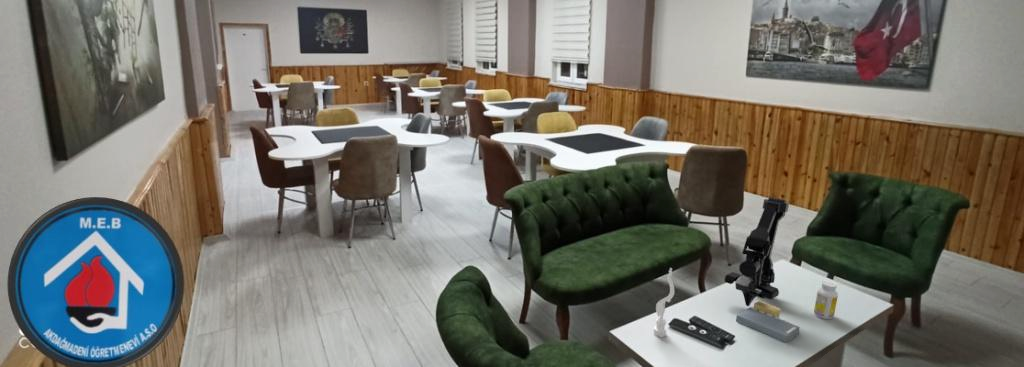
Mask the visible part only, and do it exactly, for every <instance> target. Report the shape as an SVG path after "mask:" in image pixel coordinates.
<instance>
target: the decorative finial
mask: <svg viewBox="0 0 1024 367" xmlns="http://www.w3.org/2000/svg"><path fill="white" fill-rule="evenodd" d="M672 275H673V268H672V267H670V268H669V270H668V275H667V276H666V277H667V278H666V279H667V282H668V286H669V293H668V295H667V296H666V297H664V298H661V299H660V300H658V301H657V303H656V304H655V311H656V315H657V318H655V323H656V325H655V326H654V327H653V335H655V336H657V337H659V338H660V337H661V338H663V337H666V336H667V328H666V327H665V326H666V324H667V320H666V318H664V314H665V313H666V312H665V310H666V302H667V303H670V302H672V298H673V297H674V295H675V286H674V283H673V280H672Z"/></svg>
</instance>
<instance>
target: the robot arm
mask: <svg viewBox="0 0 1024 367" xmlns="http://www.w3.org/2000/svg"><path fill="white" fill-rule="evenodd" d="M789 205H790V203H788V202H787V200H786V199H783V198H777V197H773V196H769V197H768V199H767V198H765V199H763V203H762V209H763V211H762V214H761V215H760V216H761V217H760V218H759V222H758V223H757V227H756V228H754V229H753V230H751V232H750V234H749V235H747V237H746V239H745V243H744V246H743V249H742V255H745V256H746V257H745V259H743V261H742V262H741V263H740V264H739V267H738V268H739V272H740V273H741V274H739V273H736V272H734V271H732V272H730V273H728V274H726V275H725V276H724V279H723V281H724V283H727V284H729V285H732V284H735V285H734V286H735V289H736V290H737V291H741V293H742V296H743V297H744V298H743V299H744V302H745V306H747V307H750V305H751V304H752V302H753V301H754V299H756V297H758V298H766V299H768V300H773V299H775V298H777V297H778V296H779V294H780V290H779V288H778V287H776V286H773V285H772V284H774V283H775V275H776V274H775V270H774V263H773V260H772V252H773V249H774V248H773V247H774V244H775V241H776V240H775V239H776V237H777V236H776V235H777V232H778V231H777V230H778V227H779V223H780V221H781V220H782V219H783V218H784V217H785V216H786V213H788V210H789V208H790V206H789Z"/></svg>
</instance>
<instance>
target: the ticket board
mask: <svg viewBox="0 0 1024 367" xmlns="http://www.w3.org/2000/svg"><path fill="white" fill-rule="evenodd" d="M735 321H736V322H737V323H739V324H742V325H744V326H747V327H749V328H751V329H754V330H756V331H758V332H761V333H763V334H765V335H768V336H770V337H771V338H774V339H777V340H780V341H781V342H784V343H787V342H788V341H790V340H791V339H792V338H794V337H795V336H797V335H798V334H800V333H799V332H800V328H801V327H800V326H799V325H797V324H795V323H791V322H790V321H788V320H785V319H781V318H780V317H779V318H778V317H774V316H773V315H770V314H766V313H764V312H763V311H760V310H756V309H755V308H754V306H749V307H748V308H746V309H744V310H742V311H741V312H739V313H738V314H736V318H735Z"/></svg>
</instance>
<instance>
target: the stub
mask: <svg viewBox="0 0 1024 367" xmlns="http://www.w3.org/2000/svg"><path fill="white" fill-rule="evenodd" d="M753 308H755V309H756V310H760V311H763V312H764V313H766V314H770V315H773V316H774V317H778V318H780V315H781V308H779V307H776V306H774V305H771V304H769V303H766V302H763V301H760V300H758V301H757V302H755V303H754V304H753Z"/></svg>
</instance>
